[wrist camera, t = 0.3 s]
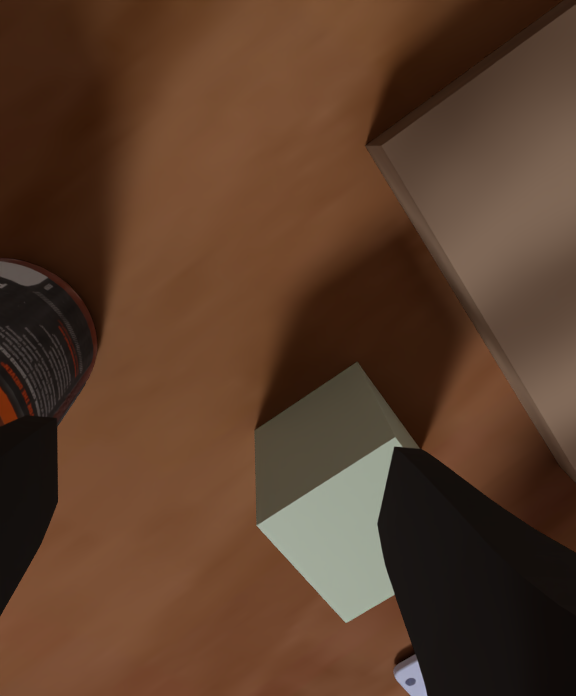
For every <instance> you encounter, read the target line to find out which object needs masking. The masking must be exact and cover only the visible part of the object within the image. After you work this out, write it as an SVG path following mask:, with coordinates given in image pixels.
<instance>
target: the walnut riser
mask: <svg viewBox="0 0 576 696" xmlns="http://www.w3.org/2000/svg"><path fill="white" fill-rule="evenodd" d="M366 148H367V150H368V151H369V153H370V155H371V156H372V158H373V160H374V161H375V163H376V165H377V166H378V168H379V170H380V171H381V173H382V174H383V176H384V178H385V179H386V181H387V183H388V184H389V186H390V188H391V189H392V191H393V193H394V194H395V196H396V198H397V199H398V201H399V202H400V204H401V206H402V207H403V209H404V211H405V212H406V214H407V216H408V217H409V219H410V221H411V222H412V224H413V226H414V227H415V229H416V231H417V232H418V234H419V235H420V237H421V239H422V240H423V242H424V244H425V245H426V247H427V249H428V250H429V252H430V254H431V255H432V257H433V259H434V260H435V262H436V263H437V265H438V267H439V268H440V270H441V272H442V273H443V275H444V277H445V278H446V280H447V282H448V283H449V285H450V287H451V288H452V290H453V291H454V293H455V295H456V296H457V298H458V300H459V301H460V303H461V305H462V306H463V308H464V310H465V311H466V313H467V315H468V316H469V318H470V319H471V321H472V323H473V324H474V326H475V328H476V329H477V331H478V333H479V334H480V336H481V338H482V339H483V341H484V343H485V344H486V346H487V347H488V349H489V351H490V352H491V354H492V356H493V357H494V359H495V361H496V362H497V364H498V366H499V367H500V369H501V371H502V372H503V374H504V375H505V377H506V379H507V380H508V382H509V384H510V385H511V387H512V389H513V390H514V392H515V394H516V395H517V397H518V399H519V400H520V402H521V403H522V405H523V407H524V408H525V410H526V412H527V413H528V415H529V417H530V418H531V420H532V422H533V423H534V425H535V427H536V428H537V430H538V431H539V433H540V435H541V436H542V438H543V440H544V441H545V443H546V445H547V446H548V448H549V450H550V451H551V453H552V455H553V456H554V458H555V460H556V461H557V463H558V464H559V466H560V467H561V468H562V469H563V470H564V471H565V472H566V473H567V475H568V476H569V477H570V478H571V479H572V480H573V481H574V482H575V483H576V0H563V1H562V2H561V3H559V4H558V5H557V6H555V7H554V8H553V9H551V10H550V11H548V12H547V13H546V14H544V15H543V16H542V17H540V18H539V19H538V20H536V21H535V22H533V23H532V24H531V25H529V26H528V27H527V28H525V29H524V30H522V31H521V32H520V33H518V34H517V35H516V36H514V37H513V38H512V39H510V40H509V41H507V42H506V43H505V44H503V45H502V46H501V47H499V48H498V49H497V50H495V51H494V52H492V53H491V54H490V55H488V56H487V57H486V58H484V59H483V60H482V61H480V62H479V63H477V64H476V65H475V66H473V67H472V68H471V69H469V70H468V71H467V72H465V73H464V74H462V75H461V76H460V77H458V78H457V79H456V80H454V81H453V82H452V83H450V84H449V85H447V86H446V87H445V88H443V89H442V90H441V91H439V92H438V93H436V94H435V95H434V96H432V97H431V98H430V99H428V100H427V101H426V102H424V103H423V104H421V105H420V106H419V107H417V108H416V109H415V110H413V111H412V112H411V113H409V114H408V115H406V116H405V117H404V118H402V119H401V120H400V121H398V122H397V123H396V124H394V125H393V126H391V127H390V128H389V129H387V130H386V131H385V132H383V133H382V134H381V135H379V136H378V137H376V138H375V139H374V140H372V141H371V142H370V143H368V144H367V145H366Z"/></svg>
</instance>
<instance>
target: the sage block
mask: <svg viewBox="0 0 576 696" xmlns="http://www.w3.org/2000/svg"><path fill="white" fill-rule="evenodd" d="M394 447H406V448H417V449H420V448H419V447H418V445H417V444H416V442H415V441H414V440H413V438H412V437H411V436H410V434H409V433H408V431H407V430H406V429H405V427H404V426H403V424H402V423H401V422H400V420H399V419H398V418H397V416H396V415H395V413H394V412H393V411H392V409H391V408H390V406H389V405H388V404H387V402H386V401H385V400H384V398H383V397H382V395H381V394H380V393H379V391H378V390H377V388H376V387H375V386H374V384H373V383H372V382H371V380H370V379H369V377H368V376H367V375H366V373H365V372H364V370H363V369H362V368H361V366H360V365H359V363H358V362H356V363H354V364H353V365H351V366H350V367H349V368H347V369H346V370H344V371H343V372H341V373H340V374H338V375H337V376H335V377H334V378H332V379H331V380H329V381H328V382H326V383H325V384H323V385H322V386H320V387H319V388H317V389H316V390H314V391H313V392H311V393H310V394H308V395H307V396H305V397H304V398H302V399H301V400H299V401H298V402H296V403H295V404H293V405H292V406H290V407H289V408H287V409H286V410H284V411H283V412H281V413H280V414H278V415H277V416H275V417H274V418H272V419H271V420H269V421H268V422H266V423H265V424H263V425H262V426H260V427H259V428H258V429H256V430H255V474H256V519H257V526H258V528H259V529H260V530H261V531H262V532H263V533H264V534H265V535H266V536H267V537H268V538H269V540H270V541H271V542H272V543H273V544H274V545H275V546H276V547H277V548H278V549H279V550H280V552H281V553H282V554H283V555H284V556H285V557H286V558H287V559H288V560H289V561H290V562H291V564H292V565H293V566H294V567H295V568H296V569H297V570H298V571H299V572H300V573H301V574H302V576H303V577H304V578H305V579H306V580H307V581H308V582H309V583H310V584H311V585H312V586H313V588H314V589H315V590H316V591H317V592H318V593H319V594H320V595H321V596H322V597H323V598H324V600H325V601H326V602H327V603H328V604H329V605H330V606H331V607H332V608H333V609H334V610H335V612H336V613H337V614H338V615H339V616H340V617H341V618H342V619H343V620H344V621H345V622H346V623H347V622H349V621H350V620H352V619H354V618H356V617H357V616H359V615H361V614H362V613H364V612H366V611H367V610H369V609H371V608H373V607H374V606H376V605H378V604H379V603H381V602H383V601H384V600H386V599H388V598H390V597H391V596H393V595H395V594H394V591H393V588H392V585H391V582H390V579H389V576H388V573H387V570H386V567H385V563H384V558H383V553H382V548H381V543H380V537H379V532H378V526H377V522H378V518H379V513H380V509H381V504H382V500H383V495H384V490H385V486H386V481H387V477H388V472H389V468H390V463H391V458H392V454H393V449H394Z"/></svg>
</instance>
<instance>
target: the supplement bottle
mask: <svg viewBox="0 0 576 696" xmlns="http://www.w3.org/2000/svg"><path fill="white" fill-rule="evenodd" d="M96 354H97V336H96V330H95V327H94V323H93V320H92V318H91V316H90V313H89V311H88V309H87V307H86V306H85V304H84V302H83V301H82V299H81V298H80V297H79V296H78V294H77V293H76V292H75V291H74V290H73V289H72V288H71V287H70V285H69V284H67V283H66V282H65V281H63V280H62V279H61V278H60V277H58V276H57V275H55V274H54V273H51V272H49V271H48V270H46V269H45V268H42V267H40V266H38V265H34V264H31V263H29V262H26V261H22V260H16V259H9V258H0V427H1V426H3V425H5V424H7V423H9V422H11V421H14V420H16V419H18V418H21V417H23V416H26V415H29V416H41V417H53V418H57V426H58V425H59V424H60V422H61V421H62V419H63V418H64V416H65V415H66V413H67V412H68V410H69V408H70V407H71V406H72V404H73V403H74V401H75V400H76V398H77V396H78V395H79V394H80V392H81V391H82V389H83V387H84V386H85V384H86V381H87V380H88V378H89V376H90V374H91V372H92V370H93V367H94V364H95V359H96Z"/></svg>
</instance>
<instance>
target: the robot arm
mask: <svg viewBox="0 0 576 696" xmlns="http://www.w3.org/2000/svg"><path fill="white" fill-rule="evenodd" d="M57 503H58V464H57V418H53V417H41V416H29V415H26V416H23V417H21V418H18V419H16V420H14V421H11V422H9V423H7V424H5V425H3V426H1V427H0V616H1V614H2V612H3V610H4V609H5V607H6V605H7V603H8V602H9V600H10V598H11V596H12V595H13V593H14V591H15V589H16V588H17V586H18V584H19V582H20V581H21V579H22V577H23V575H24V574H25V572H26V570H27V568H28V567H29V565H30V563H31V561H32V559H33V558H34V556H35V554H36V552H37V550H38V549H39V547H40V545H41V543H42V540H43V538H44V536H45V533H46V531H47V528H48V526H49V524H50V521H51V518H52V516H53V513H54V510H55V508H56V505H57ZM377 526H378V532H379V537H380V543H381V548H382V553H383V558H384V563H385V567H386V570H387V573H388V576H389V579H390V582H391V585H392V588H393V591H394V594H395V597H396V600H397V603H398V605H399V608H400V611H401V614H402V617H403V620H404V623H405V626H406V628H407V631H408V634H409V637H410V640H411V643H412V646H413V649H414V652H415V655H413V656H411V657H409V658H408V659H406V660H404V661H402V662H401V663H399V664H397V665H396V666H395V668H394V675H395V678H396V680H397V681H398V682H399V683H400V684H401V686H402V687H403V688H404V689H405V690H406V691H407V692H408V693H409V694H410V695H411V696H576V553H575V552H574V551H572V550H570V549H568V548H567V547H565V546H563V545H561V544H560V543H558V542H556V541H554V540H553V539H551V538H549V537H547V536H546V535H544V534H542V533H541V532H539V531H537V530H536V529H534V528H532V527H531V526H529V525H528V524H526V523H525V522H523V521H522V520H520V519H519V518H517V517H516V516H514V515H513V514H511V513H510V512H508V511H507V510H505V509H504V508H502V507H501V506H500V505H498V504H497V503H495V502H494V501H492V500H491V499H490V498H488V497H487V496H486V495H484V494H483V493H481V492H480V491H479V490H477V489H476V488H475V487H473V486H472V485H471V484H469V483H468V482H467V481H465V480H464V479H463V478H461V477H460V476H459V475H457V474H456V473H455V472H453V471H452V470H451V469H450V468H448V467H447V466H446V465H444V464H443V463H441V462H440V461H439V460H437V459H436V458H435V457H433V456H432V455H430V454H429V453H427V452H426V451H424V450H422V449H417V448H406V447H394V449H393V454H392V458H391V463H390V468H389V472H388V477H387V481H386V486H385V490H384V495H383V500H382V504H381V509H380V513H379V518H378V522H377Z"/></svg>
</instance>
